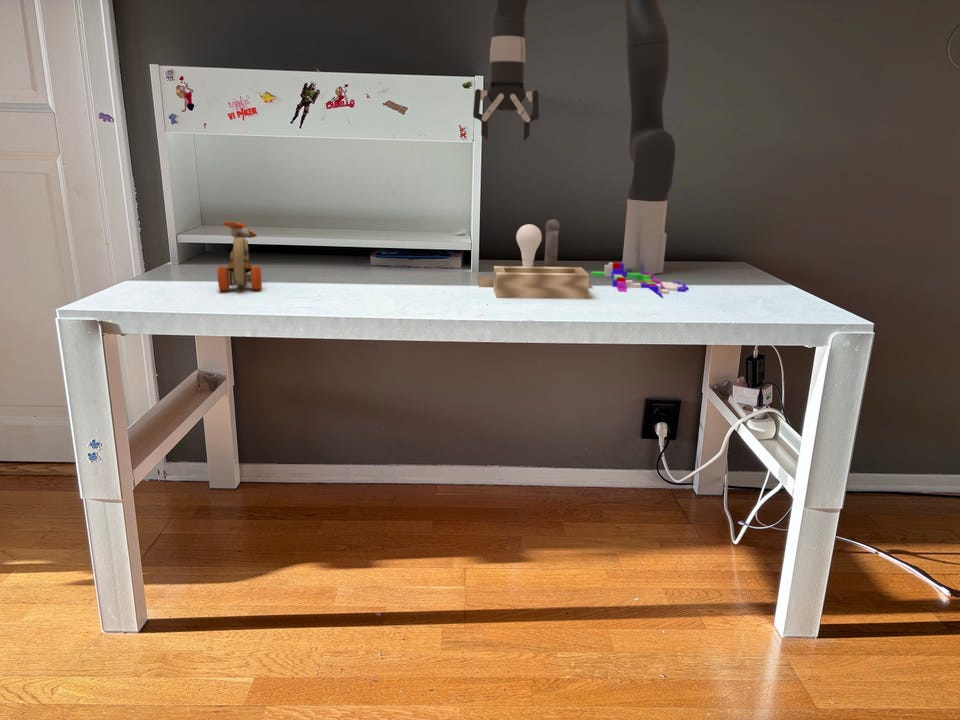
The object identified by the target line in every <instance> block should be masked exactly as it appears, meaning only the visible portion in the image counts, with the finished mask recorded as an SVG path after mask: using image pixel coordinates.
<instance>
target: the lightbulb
mask: <svg viewBox="0 0 960 720" xmlns="http://www.w3.org/2000/svg"><path fill="white" fill-rule="evenodd" d="M515 236H516V237H515V238H516V239H515V240H516V242H517V245H518V247H519V249H520V252H521V253H520V254H521V259H522V263H521V264H522V267H534V260H535V255H536V252H537V250H538V247H539V246H540V244H541V243H542V238H543V237H542V231H541V230H540V228H539V227H538V226H536V225H535V224H531V223H530V224H529V223H528V224H524V225H522V226H520V227H519V229H518V230H517V231H516V234H515Z"/></svg>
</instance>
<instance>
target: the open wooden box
mask: <svg viewBox="0 0 960 720" xmlns="http://www.w3.org/2000/svg"><path fill="white" fill-rule="evenodd" d="M493 277H494V286H493V287H492V288H493V292H494V296H495V298H496V299H561V300H562V299H564V300H565V299H566V300H567V299H568V300H569V299H570V300H571V299H572V300H573V299H574V300H575V299H577V300H580V299H583V300H588V299H589V289H590V288H589V284H590V274H589V273H588V272H587V271H586V270H585V269H584V268H583V267H581V266H580V267H579V266H578V267H574V266H557V267H544V266H532V267H524V266H518V265H517V266H513V265H512V266H510V265H509V266H507V265H506V266H504V265H499V266H498V265H494V266H493Z"/></svg>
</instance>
